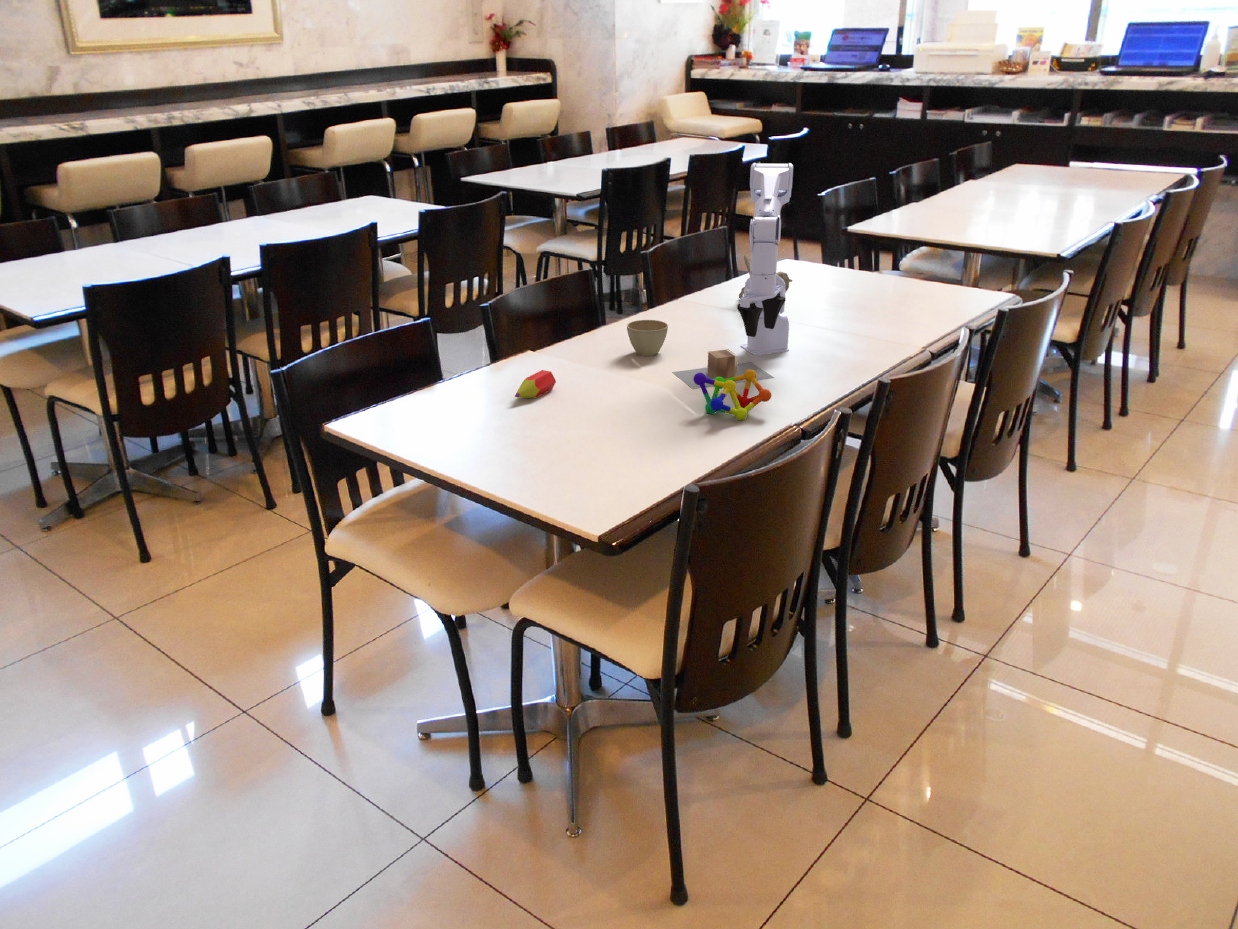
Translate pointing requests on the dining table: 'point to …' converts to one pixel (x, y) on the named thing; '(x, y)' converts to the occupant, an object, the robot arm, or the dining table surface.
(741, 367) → the mat
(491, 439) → the dining table surface
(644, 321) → the flower pot
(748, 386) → the decorative model
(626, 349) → the dining table surface
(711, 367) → the walnut cube
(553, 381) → the pencil
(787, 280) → the sculpture
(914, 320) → the dining table surface
